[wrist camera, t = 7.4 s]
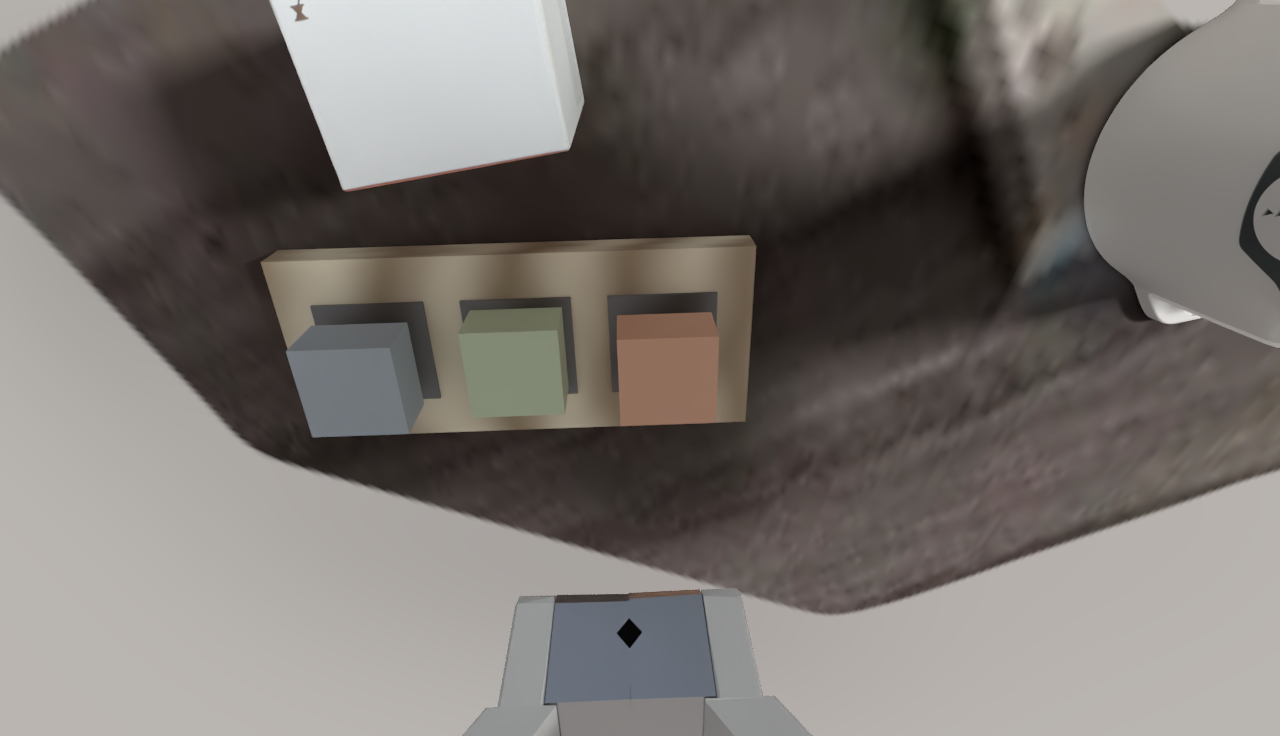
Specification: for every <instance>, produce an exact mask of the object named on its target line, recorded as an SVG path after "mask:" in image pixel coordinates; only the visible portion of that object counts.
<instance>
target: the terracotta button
mask: <svg viewBox="0 0 1280 736" xmlns="http://www.w3.org/2000/svg"><path fill="white" fill-rule="evenodd" d="M718 355H719V334H718V331H717V328H716V325H715V322H714V319H713V315H712V312H700V313H671V314H641V315H617V357H618V379H619V402H620V424H621V426H641V425H668V424H696V423H716V409H717V382H718Z"/></svg>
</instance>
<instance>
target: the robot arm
mask: <svg viewBox="0 0 1280 736" xmlns="http://www.w3.org/2000/svg"><path fill="white" fill-rule="evenodd" d="M1084 212H1085V219H1086V224H1087V228H1088V231H1089V234H1090V237H1091V239H1092V241H1093V243H1094V245H1095V247H1096V249H1097V250H1098V252H1099V253H1100V254H1101V256H1102V257H1103V258H1104V259H1105V260H1106V261H1107V262H1108V263H1109V264H1110V265H1111V266H1112V267H1113V268H1115V269H1116V270H1117V271H1119V272H1120V273H1121V274H1123V275H1124V276H1125V277H1126V278H1127V279H1129V280H1130V281H1131V283H1132V284H1133V285H1134V288H1135V291H1136V294H1137V297H1138V300H1139V303H1140V305H1141V307H1142V309H1143V311H1144V313H1145V314H1146V315H1147V316H1148V317H1150V318H1152V319H1154V320H1157V321H1159V322H1162V323H1165V324H1175V323H1180V322H1185V321H1190V320H1195V319H1200V318H1204V319H1207V320H1209V321H1211V322H1214V323H1216V324H1218V325H1221V326H1223V327H1226V328H1228V329H1231V330H1233V331H1235V332H1238V333H1240V334H1243V335H1245V336H1248V337H1250V338H1253V339H1255V340H1257V341H1260V342H1262V343H1265V344H1267V345H1270V346H1273V347H1277V348H1280V0H1237V1H1236V2H1235V3H1234V4H1233V5H1232V6H1231V7H1229V8H1228V9H1227V10H1225V11H1224V12H1223V13H1221V14H1220V15H1219V16H1217V17H1216V18H1214V19H1213V20H1211V21H1209V22H1208V23H1206V24H1205V25H1203V26H1201V27H1200V28H1198V29H1197V30H1195V31H1193V32H1192V33H1190V34H1189V35H1187V36H1186V37H1184V38H1183V39H1181V40H1180V41H1179V42H1177V43H1176V44H1175V45H1173V46H1172V47H1171V48H1170V49H1168V50H1167V51H1166V52H1165V53H1164V54H1162V55H1161V56H1160V57H1159V58H1158V59H1157V60H1156V61H1154V62H1153V63H1152V64H1151V65H1150V66H1149V67H1148V68H1147V69H1146V70H1145V71H1144V72H1143V73H1142V75H1141V76H1140V77H1139V78H1138V79H1137V80H1136V81H1135V82H1134V84H1133V85H1132V86H1131V87H1130V88H1129V89H1128V91H1127V92H1126V93H1125V95H1124V96H1123V97H1122V99H1121V100H1120V102H1119V103H1118V105H1117V106H1116V108H1115V109H1114V111H1113V112H1112V114H1111V116H1110V117H1109V119H1108V121H1107V122H1106V124H1105V126H1104V128H1103V130H1102V132H1101V134H1100V136H1099V138H1098V141H1097V143H1096V146H1095V148H1094V151H1093V154H1092V157H1091V160H1090V163H1089V167H1088V171H1087V176H1086V181H1085V190H1084ZM463 736H812V735H811V734H810V733H809V732H808V731H807V729H806V728H805V727H804V726H803V725H802V724H801V723H800V722H799V721H798V720H797V719H796V718H795V717H794V716H793V715H792V714H791V713H790V712H789V710H788V709H787V708H786V707H785V706H784V705H783V704H782V703H781V702H780V701H779V700H778V699H777V698H776V697H775V696H763V694H762V689H761V685H760V680H759V675H758V671H757V666H756V662H755V657H754V652H753V648H752V643H751V638H750V634H749V630H748V624H747V620H746V615H745V611H744V607H743V602H742V597H741V593H740V592H739V591H738V589H737V588H729V589H707V590H701V591H700V590H681V591H662V592H643V593H629V594H606V595H605V594H604V595H557V596H520V597H519V600H518V602H517V604H516V606H515V612H514V617H513V622H512V628H511V634H510V639H509V645H508V651H507V657H506V663H505V668H504V674H503V679H502V686H501V691H500V696H499V703H498V707H494V708H486V709H485V710H484V711H483V712H482V713H481V714H480V716H479V717H478V718H477V719H476V720H475V721H474V723H473V724H472V725H471V726H470V727H469V728H468V730H467V731H466V732H465V733H464V734H463Z"/></svg>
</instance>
